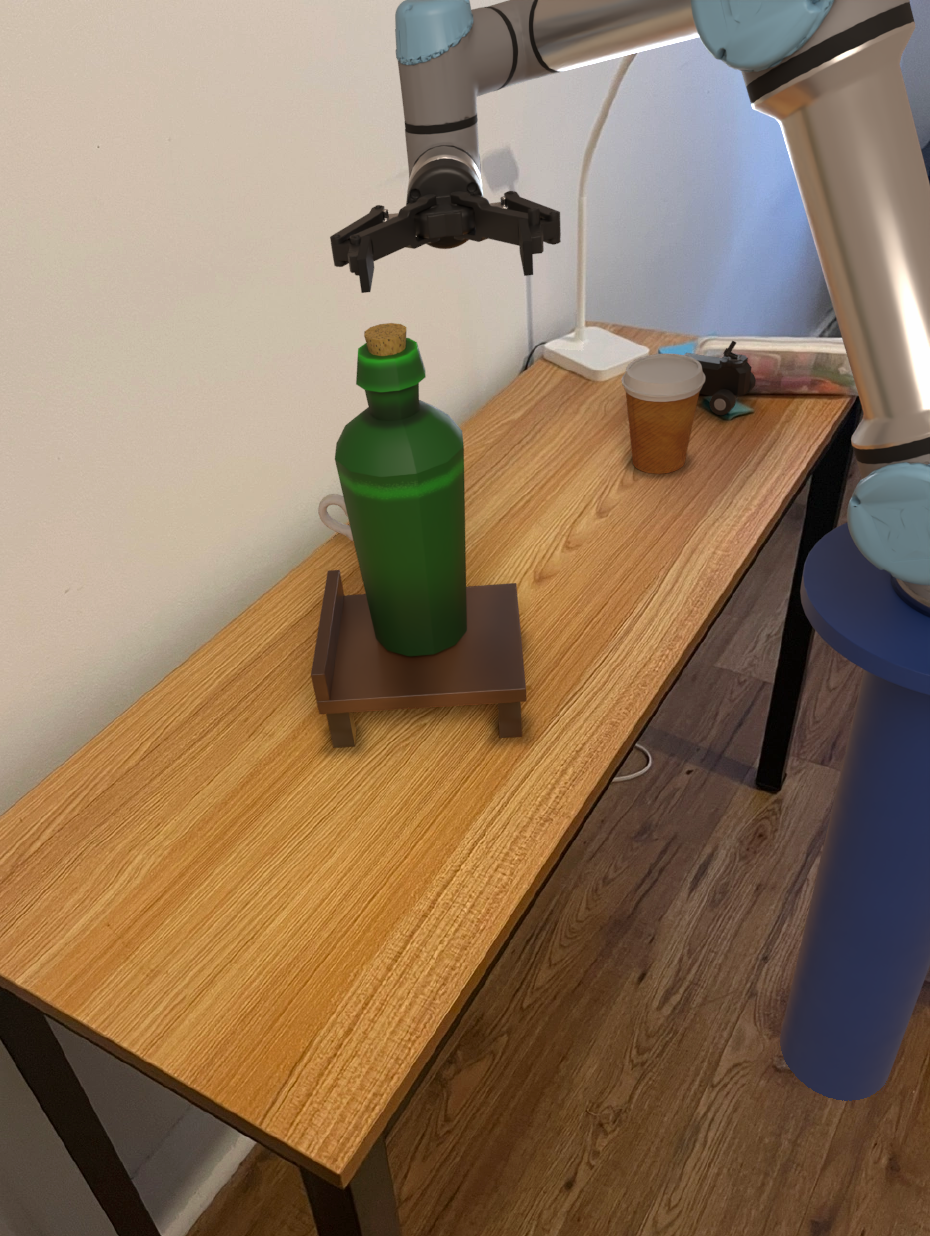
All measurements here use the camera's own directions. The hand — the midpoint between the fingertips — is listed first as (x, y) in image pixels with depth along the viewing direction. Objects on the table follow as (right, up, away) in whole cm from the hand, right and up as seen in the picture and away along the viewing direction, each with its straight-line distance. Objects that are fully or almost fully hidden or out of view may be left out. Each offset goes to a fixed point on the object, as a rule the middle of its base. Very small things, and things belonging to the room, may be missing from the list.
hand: (445, 267), depth 84 cm
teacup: (-6, -19, +33) cm, 38 cm away
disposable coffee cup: (+28, -7, +42) cm, 51 cm away
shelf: (-1, -35, +13) cm, 37 cm away
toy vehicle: (+35, +5, +54) cm, 65 cm away
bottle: (-2, -30, +10) cm, 31 cm away
